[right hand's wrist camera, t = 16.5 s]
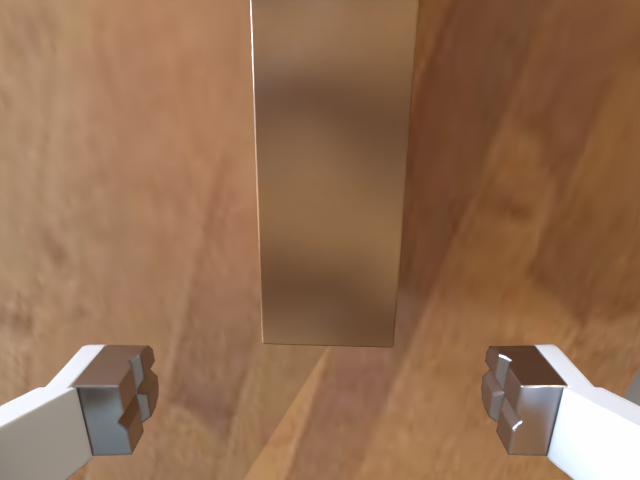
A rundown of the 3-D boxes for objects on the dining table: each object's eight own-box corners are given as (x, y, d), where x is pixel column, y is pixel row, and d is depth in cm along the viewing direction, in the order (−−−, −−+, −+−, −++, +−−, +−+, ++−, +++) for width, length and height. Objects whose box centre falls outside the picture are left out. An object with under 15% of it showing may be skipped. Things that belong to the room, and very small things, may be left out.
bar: (375, 272, 27) (393, 348, 19) (284, 270, 27) (261, 344, 19) (408, -321, 19) (467, -663, 10) (274, -319, 19) (226, -654, 10)
